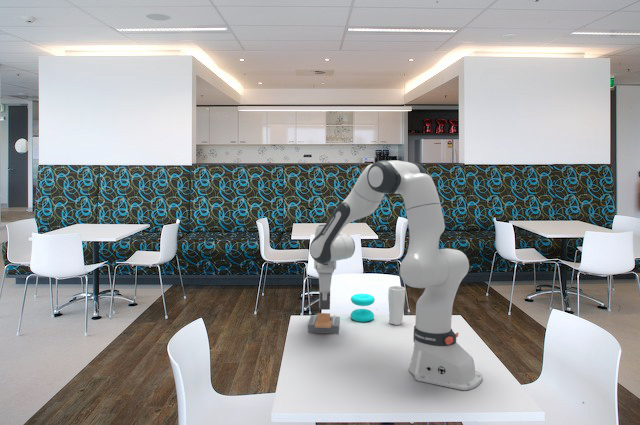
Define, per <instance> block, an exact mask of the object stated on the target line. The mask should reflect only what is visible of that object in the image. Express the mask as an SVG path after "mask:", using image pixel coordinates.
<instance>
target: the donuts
mask: <svg viewBox="0 0 640 425" xmlns="http://www.w3.org/2000/svg"><path fill="white" fill-rule="evenodd" d="M375 300H376V298H375V297H374V296H373V295H371V294H368V293H356V294H352V295H351V297H350V301H351V303H352V304H354V305H355V306H359V307H367V306H368V307H369V306H371V305H373V304H374V303H375ZM350 318H351V319H352V320H354V321H356V322H362V323H365V322H366V323H367V322H370V321H373V319H374V318H375V314H374V312H373V311H372V310H369V309H366V308H357V309H354V310H352V312H350Z"/></svg>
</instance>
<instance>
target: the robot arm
mask: <svg viewBox="0 0 640 425" xmlns="http://www.w3.org/2000/svg"><path fill="white" fill-rule="evenodd" d="M385 194H389V195H390V194H391V195H392V194H395V195H397V194H398V195H401V197H402V199H403V203H404V207H405V208H404V209H405V213H406V220H407V224H408V232H409V239H408V240H409V241H408V243H409V244H408V248H407V252H406V255H405V256H404V258H403V259H402V260H401V262H400V266H399V274H400V278H401V279H402V281H403V283H404V284H405V285H407V286H408V287H411V288H417V289H424V291H423V293H422V294H421V296H420V297H419V298H418V300H417V302H416V303H415V323H414V324H415V325H414V326H413V339H412V340H413V350H412V355H411V360H410V363H409V367H408V371H409V373H411V374H412V375H413V377H414V379H415V380H416V381H419V382H422V383H427V384H432V385H438V386H441V387H446V388H451V389H455V390H460V391H467V390H468V391H469V390H472V389H474V388H476V387H477V386H479V385H480V384H481V383H482V381H483V375H482V372H480V371H478V370H477V371H476V368H475V367H476V366H475V361H474V358H473V356H472V355H471V354H469V353H468V352H467V351H466V350H465V349H464V348H463V347H462V346H461V345H460V344H459V343H458V342H457V338H458V337H459V332H456V333H455V332H454V331H453V329H452V318H453V316H452V315H453V306H454V300H455V297H456V294H457V292H458V289H459V287H460V285H461V282H462V281H463V279H464V278H465V277H466V276H467V274H468V272H469V270H470V262H469V259H468V257H467V255H466V254H465V253H464V252H463V251H461V250H458V249H454V248H440V247H439V244H440V243H439V242H440V239H441V238H440V237H441V235H442V234H443V233H444V231H445V230H446V229H445V228H446V224H445V220H444V214H443V210H442V206H441V205H442V204H441V201H440V200H441V199H440V197H439V193H438V190H437V187H436V184H435V182H434V180H433V178H432V176H430V175H429V174H427V173H426V170H425V168H424V167H423V166H422V165H420V164H419V163H417V162H413V161H404V160H395V159H394V160H378V161H376V162H373V163H371V164H368V165H367V166H366V167H365V168H364V169H363V170H362V172H361V173H360V174H359V176H358V178H357V180H356V182H355V184H354V186H353V187H352V189H351V191H350V192H349V194H348V195H347V196H346V197H345V199H344V200H343V201H342V202H341V203H340V204H338V206H337V207H336V208H335V209H334V211H333V212H332V213H331V215H330V216H329V218H328V219H327V221H326V223H325V224H319V225H318V226H316V228H315V233H314V238H313V239H312V241H311V243H310V245H309V255H310V256H311V258H312V259H313V263H314V264H313V265H314V266H313V268H314V270H315V271H316V273H317V275H318V276H317V277H318V284H319V286H318V287H320V292H321V293H322V300H327V293H329V292H330V293H331V286H332V278H333V273H335V272H334V271H335V270H336V269H337V261H341V260H347V259H351V258H352V256H353V255H354V253H355V250H356V245H355V244H356V243H355V241H354V239H353V237H352V236H350V235H349V234H345V233H344V232H342V230H343V229H344V228H345V227H346V226H348V224H350V223H352V222H354V221H357V220H361V219H363V218H365V217H368V216H370V215H372V214H373V213H374V212H375V211H376V210H377V209H378V207H379V206H380V204H381V203H382V200H383V198H384V196H385ZM439 248H440V249H439Z"/></svg>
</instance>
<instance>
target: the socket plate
mask: <svg viewBox="0 0 640 425" xmlns="http://www.w3.org/2000/svg"><path fill="white" fill-rule="evenodd" d="M316 320H317V313H316V314H314V315H310V317H309V320H308V323H307V333H310V334H311V333H313V334H314V333H315V334H337V335H338V334H339V332H340V324H341V321H340V320H341V317H340V316H336V314H333V316H332V315H330V321H332V324H331V328H315V322H316Z"/></svg>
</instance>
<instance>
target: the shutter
mask: <svg viewBox="0 0 640 425" xmlns="http://www.w3.org/2000/svg"><path fill="white" fill-rule="evenodd" d="M316 314H317V320H316V322H315V328H331V324H332V321H330V316H331V313H323V312H317V313H316Z"/></svg>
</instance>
